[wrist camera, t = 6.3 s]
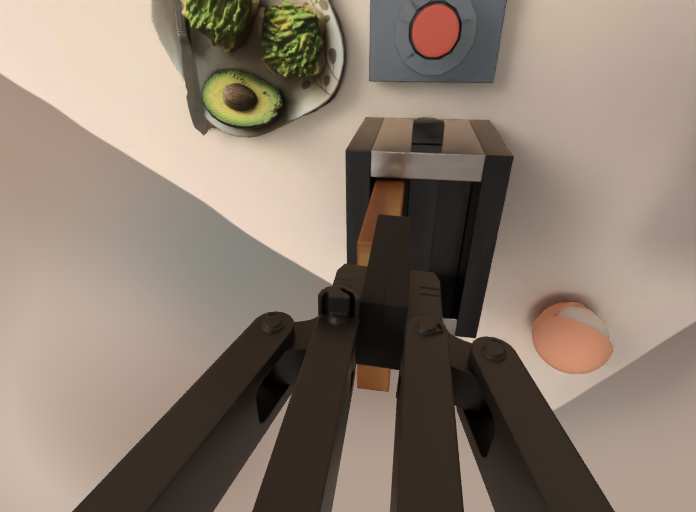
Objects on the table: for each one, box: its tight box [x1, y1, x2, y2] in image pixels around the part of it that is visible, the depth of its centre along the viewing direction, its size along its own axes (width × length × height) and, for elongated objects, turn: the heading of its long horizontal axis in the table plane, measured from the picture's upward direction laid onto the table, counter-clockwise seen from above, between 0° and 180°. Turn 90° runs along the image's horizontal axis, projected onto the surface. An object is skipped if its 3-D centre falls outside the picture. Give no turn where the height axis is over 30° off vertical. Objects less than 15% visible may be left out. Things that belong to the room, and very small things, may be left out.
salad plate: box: [151, 0, 345, 137], centre depth 35 cm, size 19×18×5 cm
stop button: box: [412, 4, 459, 57], centre depth 31 cm, size 4×4×2 cm
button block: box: [369, 0, 507, 83], centre depth 33 cm, size 11×8×4 cm
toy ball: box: [532, 302, 613, 374], centre depth 44 cm, size 8×8×8 cm
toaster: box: [346, 117, 514, 338], centre depth 37 cm, size 12×19×12 cm, turn 1°
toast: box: [357, 177, 406, 392], centre depth 31 cm, size 2×12×14 cm, turn 1°
